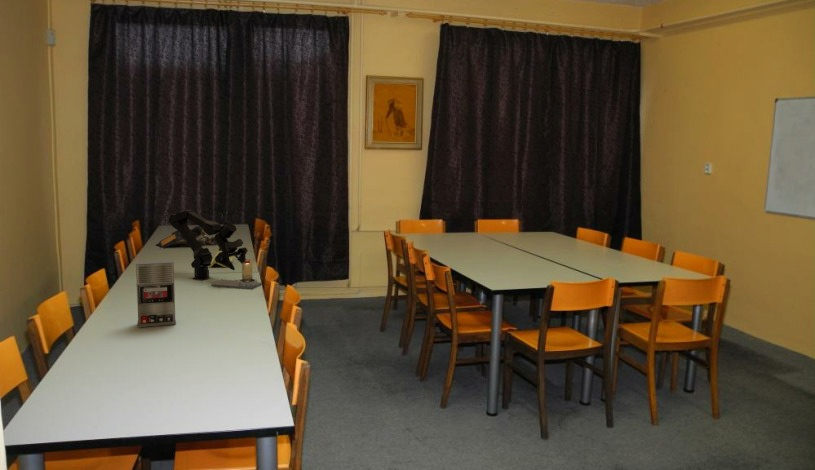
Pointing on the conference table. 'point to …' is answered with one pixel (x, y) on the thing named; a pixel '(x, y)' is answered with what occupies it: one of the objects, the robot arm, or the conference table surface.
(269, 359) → the conference table surface
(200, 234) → the toolset
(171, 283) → the cassette tape recorder
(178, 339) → the conference table surface
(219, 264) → the plastic component
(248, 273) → the tan bottle
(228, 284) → the plate
